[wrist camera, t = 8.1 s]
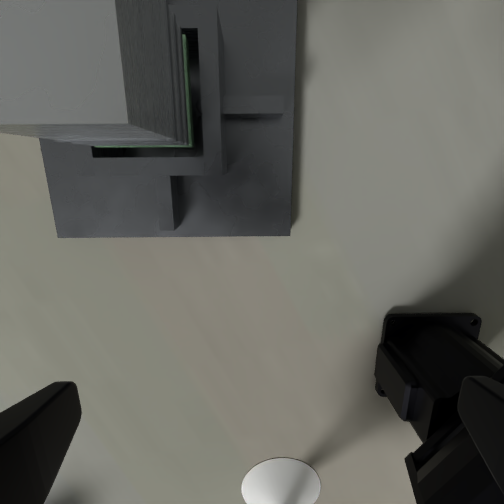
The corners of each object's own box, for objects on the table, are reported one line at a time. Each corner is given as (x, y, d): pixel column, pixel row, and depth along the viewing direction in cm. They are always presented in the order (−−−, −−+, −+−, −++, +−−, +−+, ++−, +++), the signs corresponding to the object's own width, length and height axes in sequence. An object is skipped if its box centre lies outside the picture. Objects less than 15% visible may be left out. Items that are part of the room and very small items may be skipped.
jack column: (189, 43, 13) (104, -131, 5) (195, 147, 14) (132, 127, 6) (90, 43, 13) (-140, -132, 5) (104, 148, 14) (-67, 128, 6)
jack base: (295, -37, 15) (313, -116, 11) (288, 232, 19) (299, 252, 15) (18, -37, 15) (-73, -117, 11) (67, 234, 19) (14, 254, 15)
